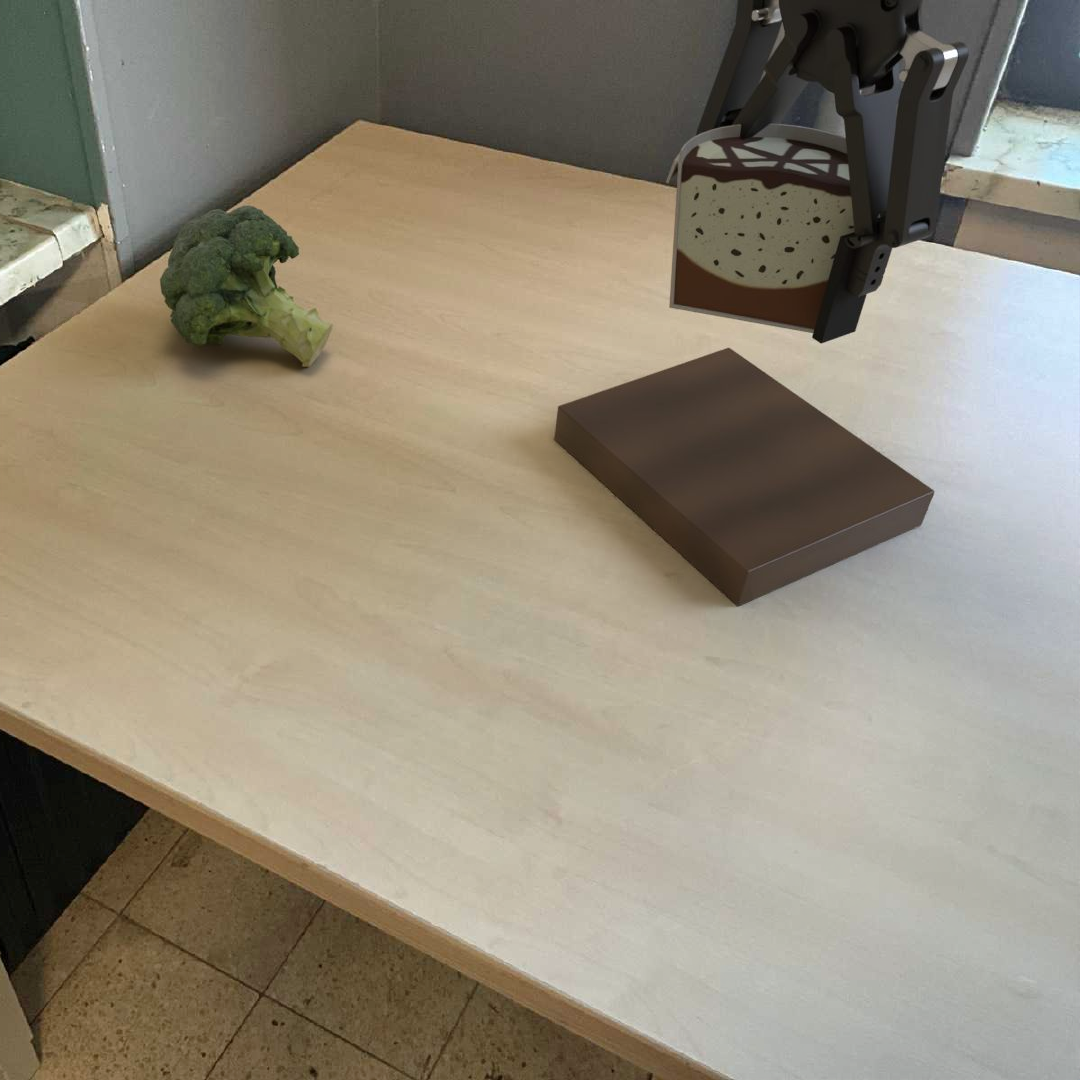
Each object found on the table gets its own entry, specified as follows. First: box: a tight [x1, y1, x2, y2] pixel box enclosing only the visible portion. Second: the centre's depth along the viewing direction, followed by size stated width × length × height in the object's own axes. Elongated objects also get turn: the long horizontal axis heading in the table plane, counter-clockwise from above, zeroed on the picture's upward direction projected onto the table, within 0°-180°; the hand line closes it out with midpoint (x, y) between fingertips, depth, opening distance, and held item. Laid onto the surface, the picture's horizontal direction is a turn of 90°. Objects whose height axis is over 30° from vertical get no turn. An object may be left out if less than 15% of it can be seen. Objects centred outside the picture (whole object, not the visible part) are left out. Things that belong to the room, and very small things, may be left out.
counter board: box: [553, 347, 936, 607], centre depth 81 cm, size 20×16×3 cm
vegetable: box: [159, 205, 334, 368], centre depth 93 cm, size 12×13×15 cm
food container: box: [665, 123, 855, 334], centre depth 69 cm, size 12×6×10 cm, turn 68°
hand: (776, 298), depth 72 cm, fingers closed on food container, 9 cm apart
